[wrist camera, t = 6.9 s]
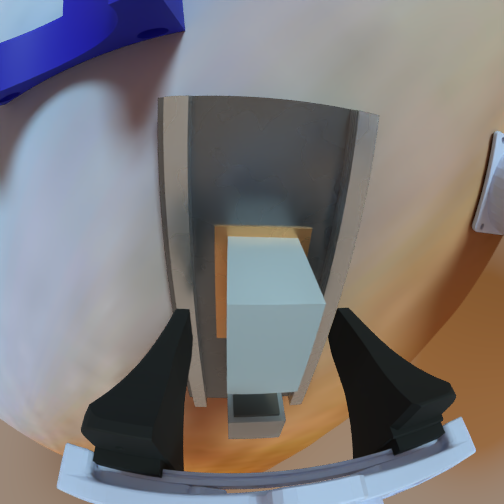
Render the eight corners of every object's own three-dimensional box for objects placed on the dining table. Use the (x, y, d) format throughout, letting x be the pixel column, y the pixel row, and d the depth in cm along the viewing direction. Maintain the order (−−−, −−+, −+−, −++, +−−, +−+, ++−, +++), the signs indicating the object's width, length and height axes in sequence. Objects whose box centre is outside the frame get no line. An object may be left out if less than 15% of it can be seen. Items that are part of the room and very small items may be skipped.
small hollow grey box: (276, 357, 19) (286, 418, 15) (271, 382, 21) (278, 436, 16) (227, 358, 19) (228, 420, 14) (227, 383, 20) (228, 438, 16)
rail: (364, 113, 12) (388, 117, 10) (301, 381, 23) (306, 403, 21) (165, 98, 11) (151, 97, 9) (190, 382, 22) (189, 406, 20)
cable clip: (180, -34, 8) (154, -91, 2) (185, 31, 10) (154, -11, 5) (4, 45, 7) (-60, 47, 2) (7, 104, 10) (-61, 122, 5)
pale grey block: (297, 238, 14) (325, 303, 10) (282, 327, 17) (296, 394, 13) (227, 236, 14) (226, 304, 9) (226, 327, 17) (227, 396, 13)
